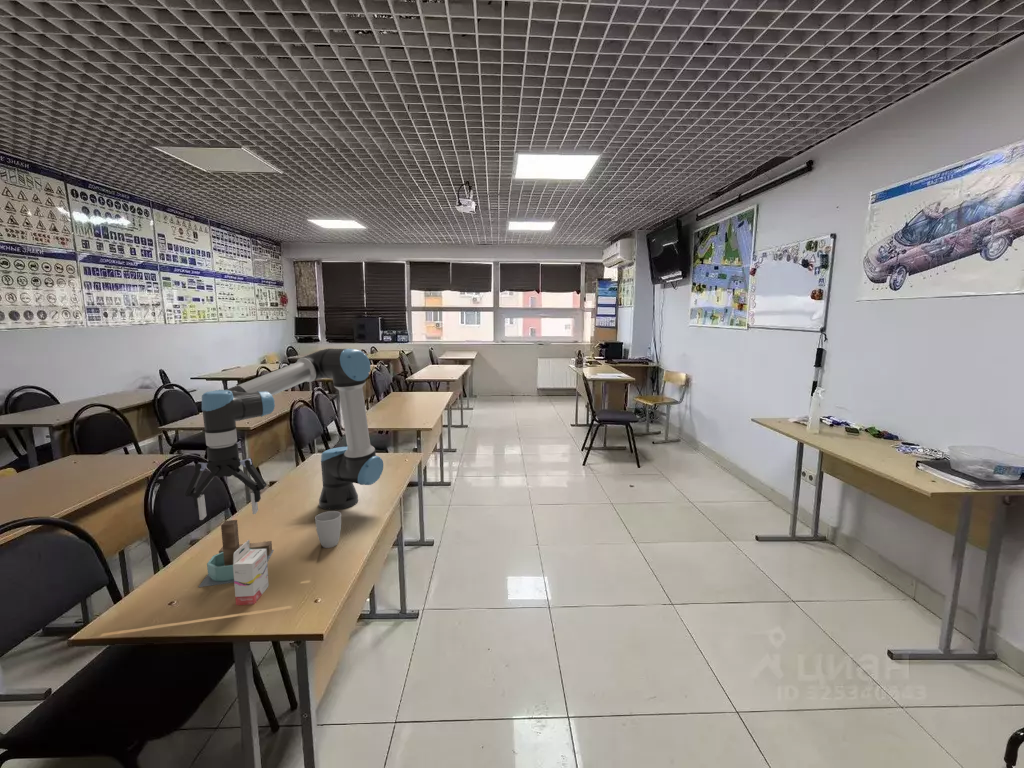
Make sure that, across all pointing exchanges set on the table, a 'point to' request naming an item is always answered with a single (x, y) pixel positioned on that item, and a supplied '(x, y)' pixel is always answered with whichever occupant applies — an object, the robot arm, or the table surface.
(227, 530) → the brown wooden block
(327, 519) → the cup
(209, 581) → the slate board
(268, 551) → the long wooden bar
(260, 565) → the ink cartridge box
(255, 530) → the table surface
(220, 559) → the teal octagonal bowl
